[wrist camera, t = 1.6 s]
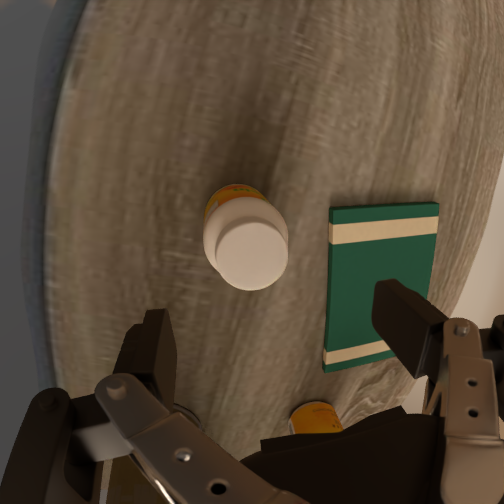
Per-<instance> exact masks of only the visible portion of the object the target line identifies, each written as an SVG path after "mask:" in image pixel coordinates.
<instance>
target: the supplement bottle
mask: <svg viewBox="0 0 504 504" xmlns="http://www.w3.org/2000/svg"><path fill="white" fill-rule="evenodd" d="M203 244H204V250H205V253H206V256H207V258H208V260H209V262H210V263H211V265H212V266H213V267H214V268H215V269H216V270H217V271H218V272H220V274H221V275H222V277H223V278H224V279H225V280H226V281H227V282H228V283H229V284H231V285H232V286H234V287H236V288H239V289H243V290H258V289H262V288H265V287H267V286H269V285H271V284H272V283H274V282H275V281H276V280H277V279H278V278H279V277H280V276H281V275H282V273H283V272H284V270H285V268H286V265H287V262H288V230H287V226H286V223H285V221H284V219H283V218H282V216H281V215H280V213H279V212H278V211H277V210H276V209H275V208H274V207H273V206H272V205H271V203H270V202H269V201H268V200H267V199H266V198H265V197H264V196H263V195H262V194H261V193H260V192H259V191H257V190H256V189H254V188H253V187H250V186H248V185H244V184H232V185H228V186H225V187H223V188H221V189H219V190H218V191H217V192H216V193H214V194H213V196H212V197H211V198H210V200H209V201H208V203H207V205H206V208H205V213H204V232H203Z"/></svg>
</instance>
